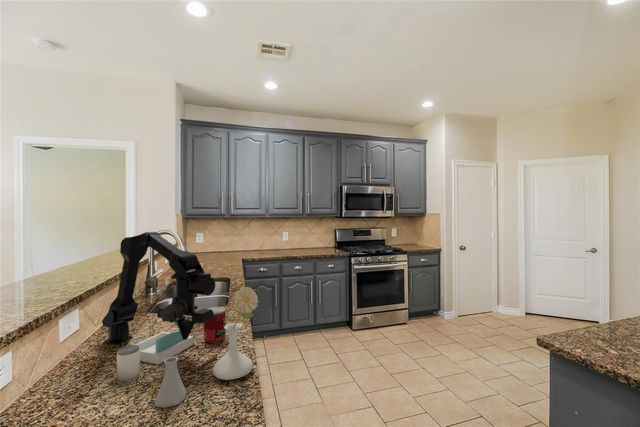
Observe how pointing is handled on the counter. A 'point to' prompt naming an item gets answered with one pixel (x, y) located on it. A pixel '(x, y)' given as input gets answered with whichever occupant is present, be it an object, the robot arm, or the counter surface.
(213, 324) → the canned food
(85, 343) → the counter surface
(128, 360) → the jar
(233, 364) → the flower in vase
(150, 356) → the lane
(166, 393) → the flask
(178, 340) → the pusher
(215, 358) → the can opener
